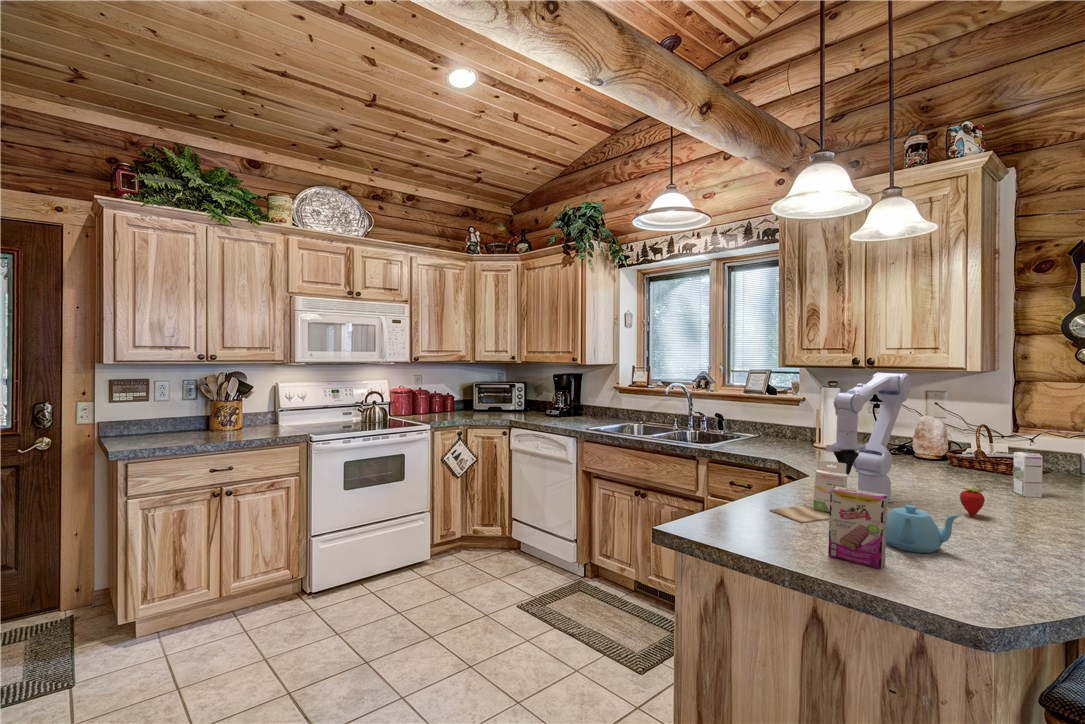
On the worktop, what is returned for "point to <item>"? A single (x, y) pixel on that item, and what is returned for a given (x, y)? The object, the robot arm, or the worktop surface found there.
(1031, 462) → the syrup box
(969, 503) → the strawberry
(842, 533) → the candy bar box
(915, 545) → the teapot
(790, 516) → the cork trivet
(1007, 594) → the worktop surface
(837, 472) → the ink box
